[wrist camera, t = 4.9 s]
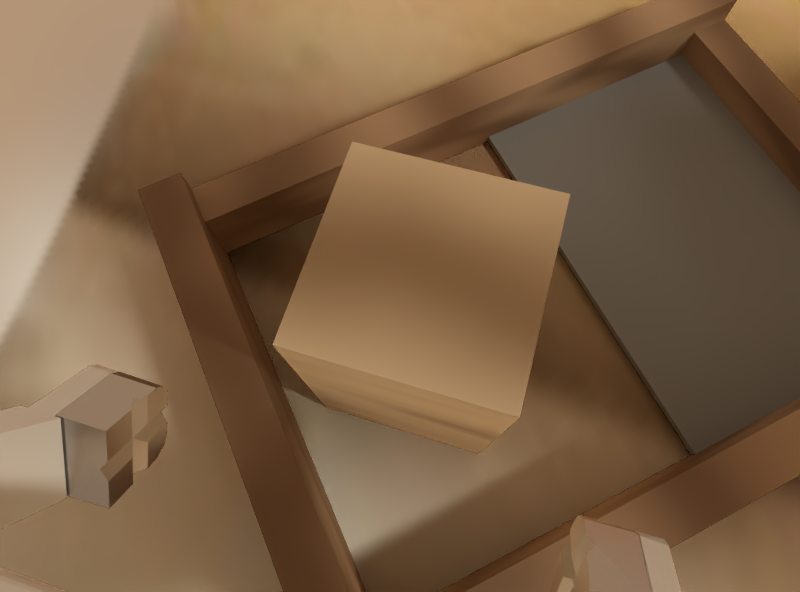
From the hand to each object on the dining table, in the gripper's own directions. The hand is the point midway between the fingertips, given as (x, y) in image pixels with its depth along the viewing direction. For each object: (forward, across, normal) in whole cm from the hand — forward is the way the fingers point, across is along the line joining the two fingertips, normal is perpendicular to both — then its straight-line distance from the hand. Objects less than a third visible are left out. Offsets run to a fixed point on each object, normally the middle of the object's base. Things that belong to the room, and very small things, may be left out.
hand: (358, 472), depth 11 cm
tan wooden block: (+9, 0, +3) cm, 10 cm away
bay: (+12, -4, 0) cm, 13 cm away
